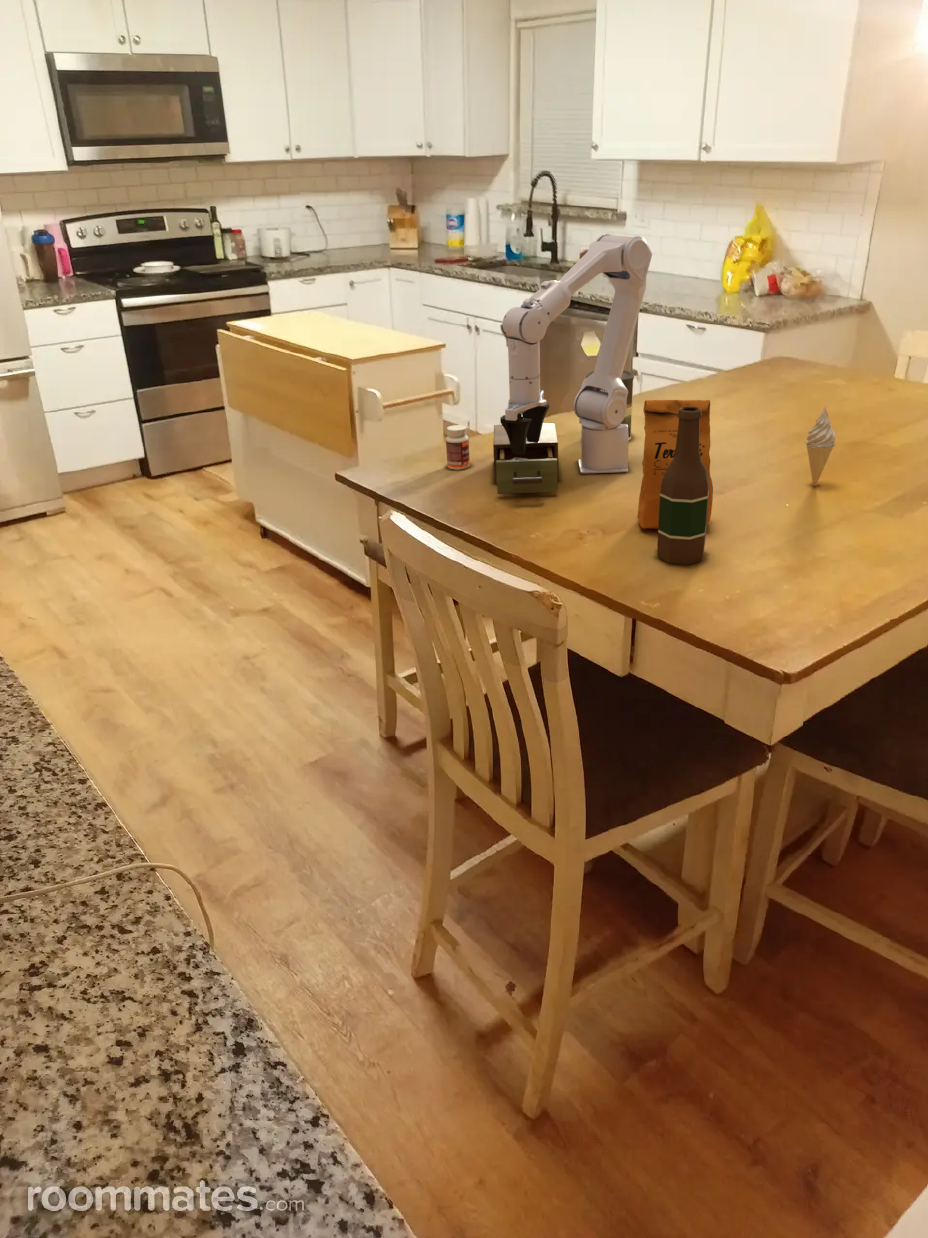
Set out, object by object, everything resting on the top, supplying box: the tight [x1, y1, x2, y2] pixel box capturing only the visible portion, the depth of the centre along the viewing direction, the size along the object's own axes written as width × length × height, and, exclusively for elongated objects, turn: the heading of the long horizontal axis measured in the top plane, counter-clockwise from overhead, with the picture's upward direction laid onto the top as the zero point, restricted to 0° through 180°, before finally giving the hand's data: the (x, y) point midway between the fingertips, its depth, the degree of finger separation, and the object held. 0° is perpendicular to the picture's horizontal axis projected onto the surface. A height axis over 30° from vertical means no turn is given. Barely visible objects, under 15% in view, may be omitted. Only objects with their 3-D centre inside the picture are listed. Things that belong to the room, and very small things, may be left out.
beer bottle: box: [656, 406, 709, 566], centre depth 142 cm, size 8×8×24 cm
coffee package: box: [637, 399, 714, 530], centre depth 154 cm, size 10×12×22 cm
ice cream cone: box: [805, 406, 836, 487], centre depth 169 cm, size 5×5×15 cm
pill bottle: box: [445, 424, 471, 471], centre depth 191 cm, size 5×5×8 cm
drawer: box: [496, 446, 558, 495], centre depth 176 cm, size 17×11×6 cm, turn 178°
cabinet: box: [492, 422, 559, 485], centre depth 186 cm, size 14×13×8 cm
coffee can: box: [585, 369, 635, 441], centre depth 202 cm, size 10×10×14 cm
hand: (525, 447), depth 175 cm, fingers open, 7 cm apart
